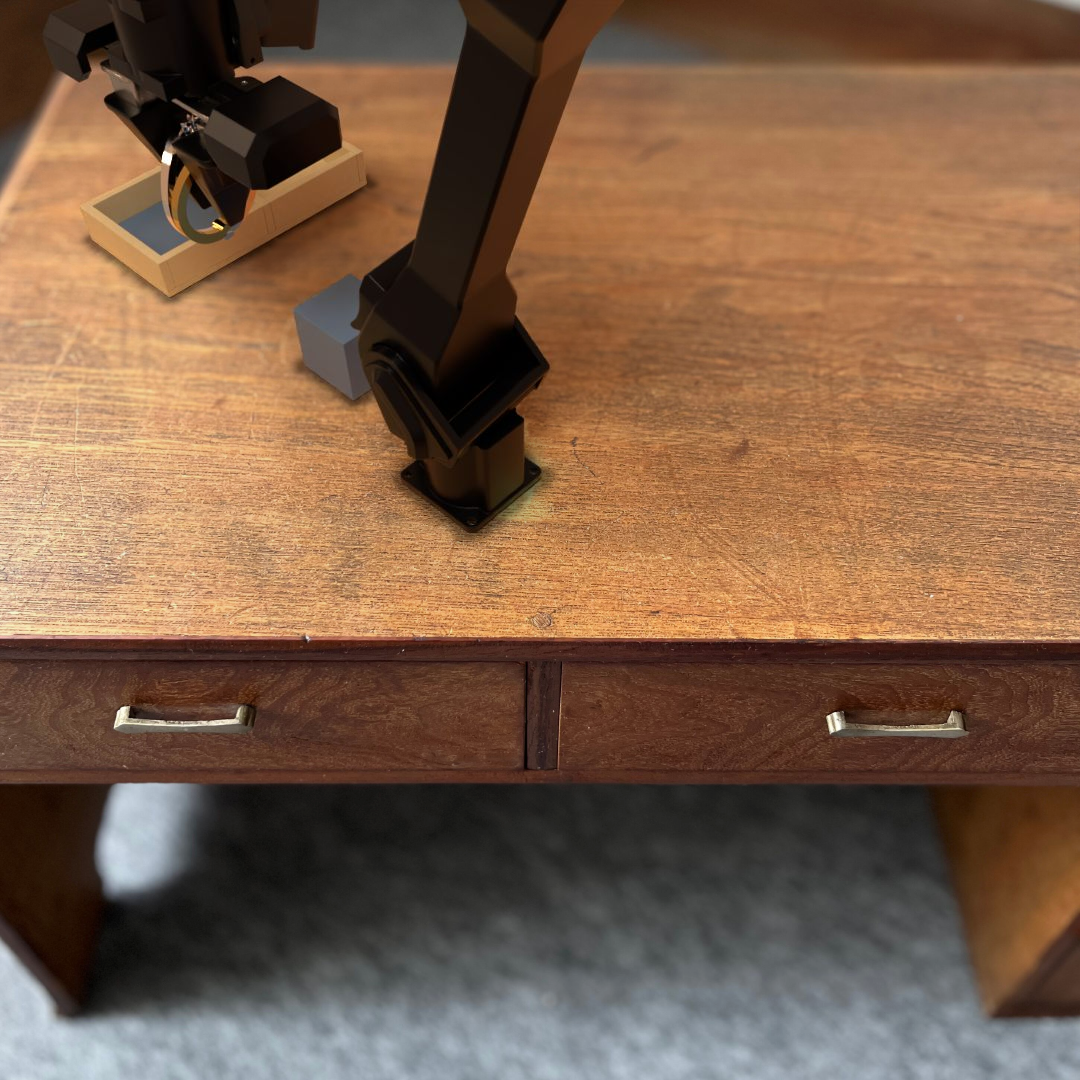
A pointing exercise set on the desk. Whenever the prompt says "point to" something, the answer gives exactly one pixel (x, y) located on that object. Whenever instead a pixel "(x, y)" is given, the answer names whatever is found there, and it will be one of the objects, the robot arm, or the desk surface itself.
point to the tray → (211, 220)
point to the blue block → (333, 336)
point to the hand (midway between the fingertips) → (222, 214)
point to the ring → (179, 190)
